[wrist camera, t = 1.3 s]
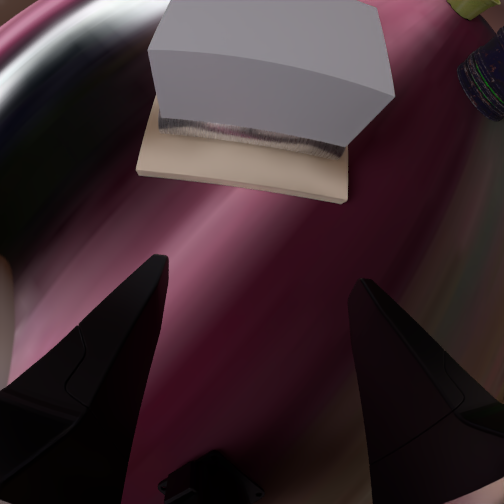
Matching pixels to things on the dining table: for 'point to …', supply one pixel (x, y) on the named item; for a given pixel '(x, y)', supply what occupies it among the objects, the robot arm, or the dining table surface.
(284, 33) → the slab
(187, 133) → the rollers
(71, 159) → the dining table surface
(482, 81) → the storage jar
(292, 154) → the track board
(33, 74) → the dining table surface
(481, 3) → the plant pot
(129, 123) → the dining table surface
